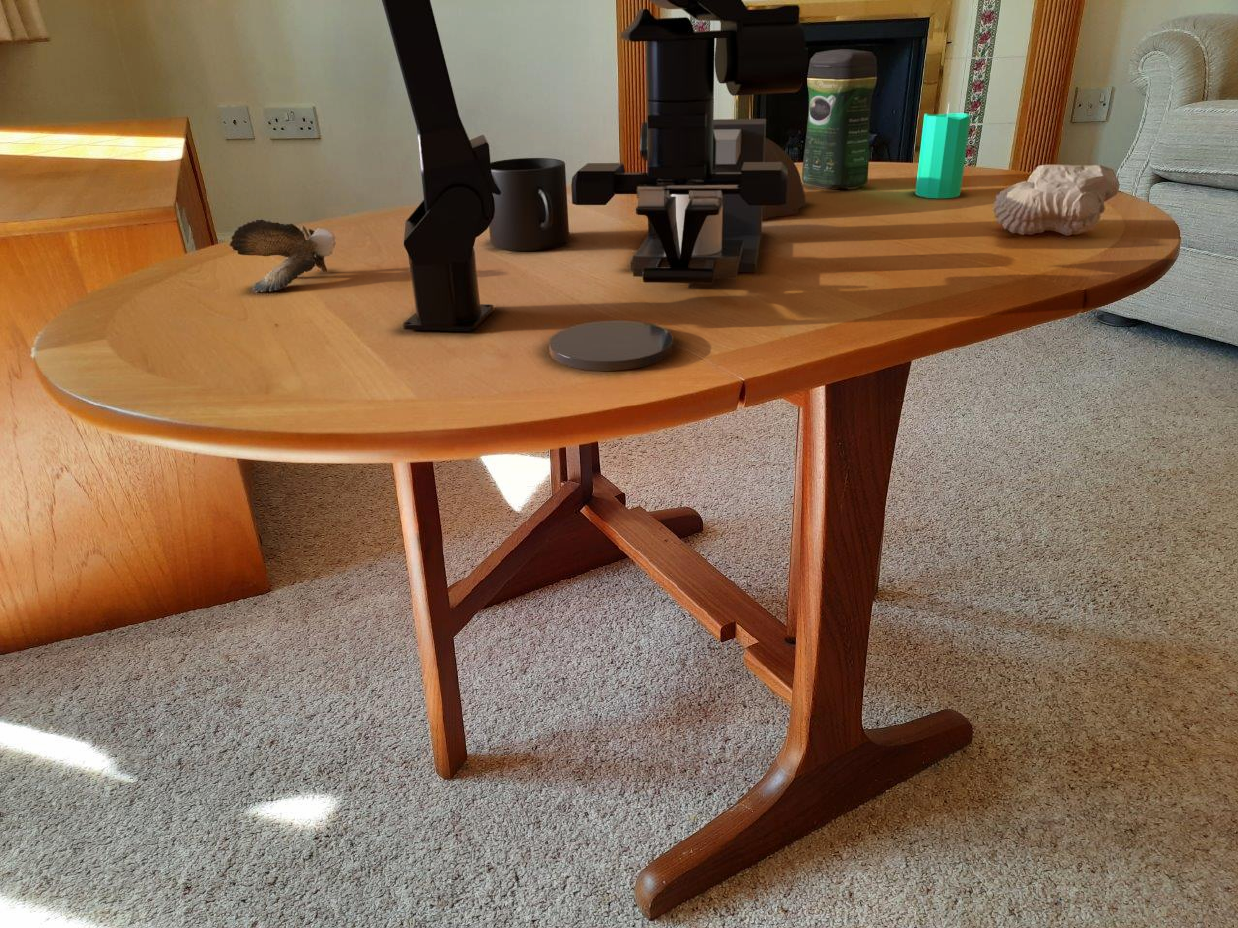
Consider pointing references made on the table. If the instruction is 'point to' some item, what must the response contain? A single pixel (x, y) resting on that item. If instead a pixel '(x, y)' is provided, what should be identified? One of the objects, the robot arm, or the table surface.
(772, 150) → the decorative dome
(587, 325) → the coaster
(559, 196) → the mug
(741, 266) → the coffee machine
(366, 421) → the table surface
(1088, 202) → the fossil replica
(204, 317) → the table surface
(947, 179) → the candle
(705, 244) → the white cup
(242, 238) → the eagle figurine
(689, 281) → the tray
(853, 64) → the coffee jar
